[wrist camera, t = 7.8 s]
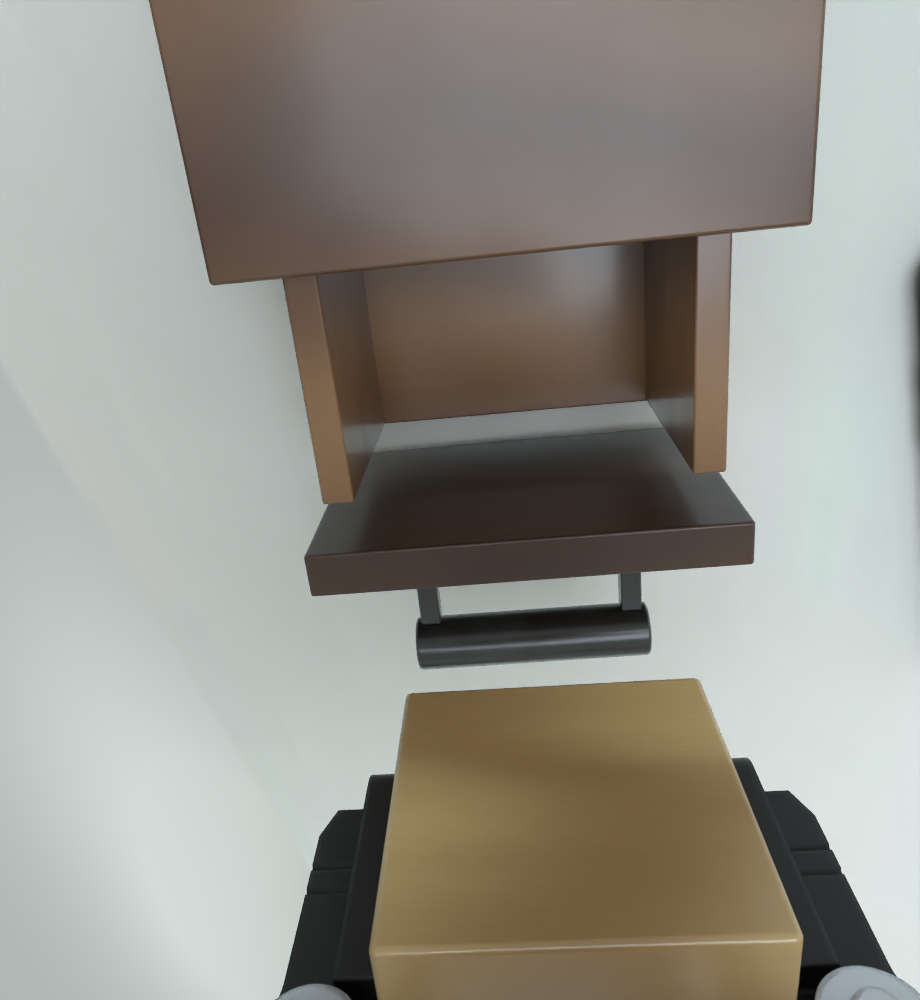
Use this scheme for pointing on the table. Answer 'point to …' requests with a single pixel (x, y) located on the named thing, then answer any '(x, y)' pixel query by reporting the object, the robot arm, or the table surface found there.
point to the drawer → (524, 463)
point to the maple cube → (576, 853)
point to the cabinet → (485, 125)
